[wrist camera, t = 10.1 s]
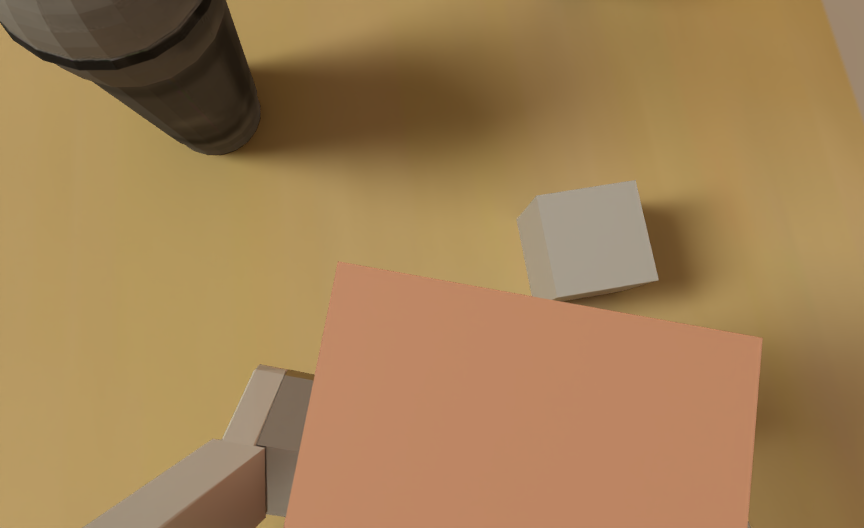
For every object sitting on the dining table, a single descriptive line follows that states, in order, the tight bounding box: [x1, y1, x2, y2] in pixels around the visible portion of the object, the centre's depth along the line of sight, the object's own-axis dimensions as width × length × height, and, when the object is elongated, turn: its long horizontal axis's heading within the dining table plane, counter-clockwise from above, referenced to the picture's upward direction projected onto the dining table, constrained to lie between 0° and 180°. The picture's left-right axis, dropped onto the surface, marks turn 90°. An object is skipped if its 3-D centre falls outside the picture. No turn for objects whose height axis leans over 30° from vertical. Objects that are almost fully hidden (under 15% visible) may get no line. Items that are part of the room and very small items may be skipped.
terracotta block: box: [284, 261, 763, 528], centre depth 11 cm, size 5×5×10 cm
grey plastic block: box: [517, 180, 659, 302], centre depth 28 cm, size 4×4×4 cm
